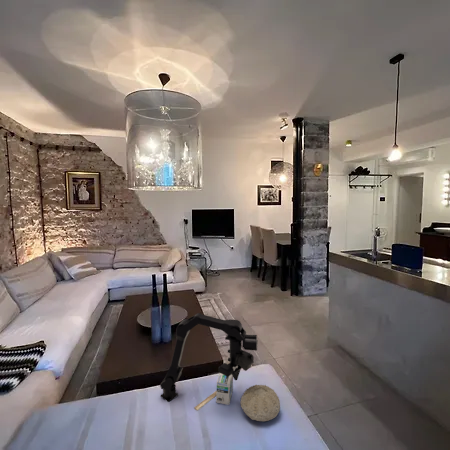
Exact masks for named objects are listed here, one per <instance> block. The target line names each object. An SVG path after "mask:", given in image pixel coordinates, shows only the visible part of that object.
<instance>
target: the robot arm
mask: <svg viewBox="0 0 450 450" xmlns="http://www.w3.org/2000/svg"><path fill="white" fill-rule="evenodd" d="M198 325H200V326H205V327H208V328H211V329H215V330H219V331H222V332H223V333H225V338H224V340H226V341H227V340H228V341H229V342H228V343H229V348H228V350H227V353H228V354H229V357H228V358H227V361H228V362H229V363H226V362H224V363H222V364H221V365H220V366H218V373H221V374H223V375H225V376H227V377H228V376H230V375H232V376H233V381H238V379H239V375H240V373H241V370H242V369H243V371H245V372H246V371H248V370H250V369H251V368H252V364H254V363H255V362H254V354H252V353H250V352H249V351H255V352H256V351H257V352H258V346H259V345H258V336H257V334H247V332H246V329H244V327H243V324H242V322H241V321H240V320H238V319H222V318H217V317H214V316H213V317H212V316H210V315H207V314H202V313H201V312H200V313H196V314H194V315H193V316H190V317H189V318H186V319H182V320H181V322H180V323H179V324H178V325H177V326H176V330H175V337H176V341H175V346H174V351H173V355H172V358H171V363H170V366H169V369H168V370H167V372H166V375H165V376H164V379H163V380H162V382H160V384H159V387H160V389H161V390H162V393H161V394H160V398H163V399H162V400H164V401H166V402H167V403H168V402H170V401H172V400H174V399H175V398H177V397H178V396H179V393H177V389H176V383H177V382H178V381H179V379H180V377H181V376H182V371H183V369H184V367H183V366H181V360H182V357H183V353H184V349H185V344H186V340H187V338H188V335H189V333H190V332H191V330H192V329H194V328H195V327H196V326H198ZM242 348H243V349H242Z"/></svg>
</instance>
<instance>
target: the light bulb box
mask: <svg viewBox="0 0 450 450" xmlns="http://www.w3.org/2000/svg"><path fill="white" fill-rule="evenodd" d="M218 373H219V372H218ZM233 385H234V378H233V376H232V375H230V376H228V377H227V376H225V375H223V374H221V373H219V374H218V376H217V380H216V390H215V391H216V396H215V397H216V398H215V403H217V404H222V405H226V406H230V403H231V399H232V395H233V390H234V389H233V387H234V386H233Z"/></svg>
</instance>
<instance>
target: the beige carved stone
mask: <svg viewBox="0 0 450 450" xmlns="http://www.w3.org/2000/svg"><path fill="white" fill-rule="evenodd" d="M240 407H241V408H242V411H243V412H244V413H245V415H246V416H247V417H249V418H250V419H251V420H253V421H257V422H268V421H271V420H273V419H274V418H276V417H278V414H279V412H280V409H281V401H280V398H279V396H278V394H277V392H276V391H275V389H273V388H271V387H269V386H268V385H266V384H255V385H252V386H249V387H248V388H246V389H245V391H244V392H243V393H242V396H241V398H240Z"/></svg>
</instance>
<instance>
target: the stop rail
mask: <svg viewBox="0 0 450 450" xmlns="http://www.w3.org/2000/svg"><path fill="white" fill-rule="evenodd" d="M216 391H217V390H215V391H213V392H212V394H210V395H208V396H207V397H206V398H205V399H203V400H202V401H201V402H199V403H198V404H196V406H194V407H193V409H194V410H196V411H199V410H200V409H202V408H203V407H204V406H205V405H207V404H208V403H209V402H210V401H212V400H213V399H214V398H215V397H216Z"/></svg>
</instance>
